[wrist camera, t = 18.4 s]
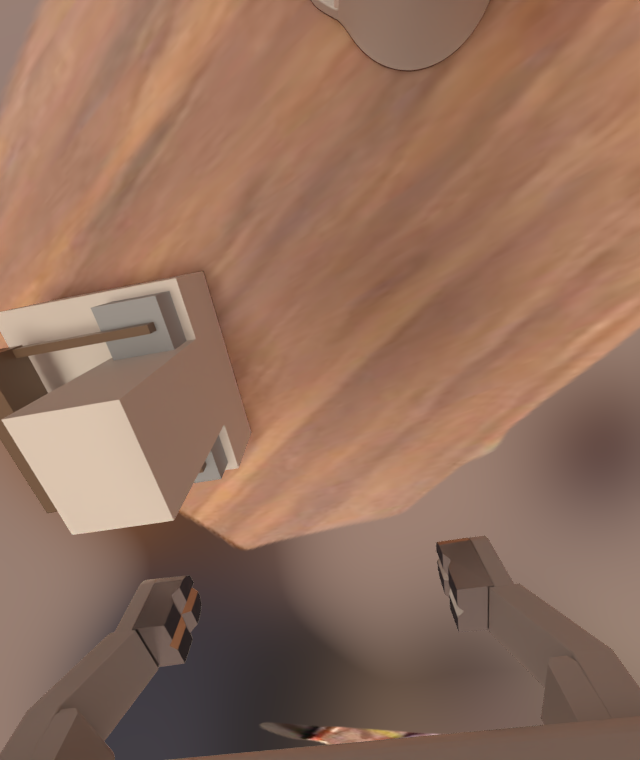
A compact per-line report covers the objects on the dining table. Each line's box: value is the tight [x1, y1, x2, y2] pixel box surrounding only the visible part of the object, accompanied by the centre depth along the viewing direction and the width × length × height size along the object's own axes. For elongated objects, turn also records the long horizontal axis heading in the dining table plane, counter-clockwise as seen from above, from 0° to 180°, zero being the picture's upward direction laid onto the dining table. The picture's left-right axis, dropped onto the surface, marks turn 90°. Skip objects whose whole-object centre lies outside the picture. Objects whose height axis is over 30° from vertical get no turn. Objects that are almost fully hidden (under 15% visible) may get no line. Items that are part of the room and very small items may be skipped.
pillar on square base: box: [0, 271, 251, 535], centre depth 34 cm, size 22×19×22 cm
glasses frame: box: [0, 322, 207, 513], centre depth 32 cm, size 16×15×4 cm
